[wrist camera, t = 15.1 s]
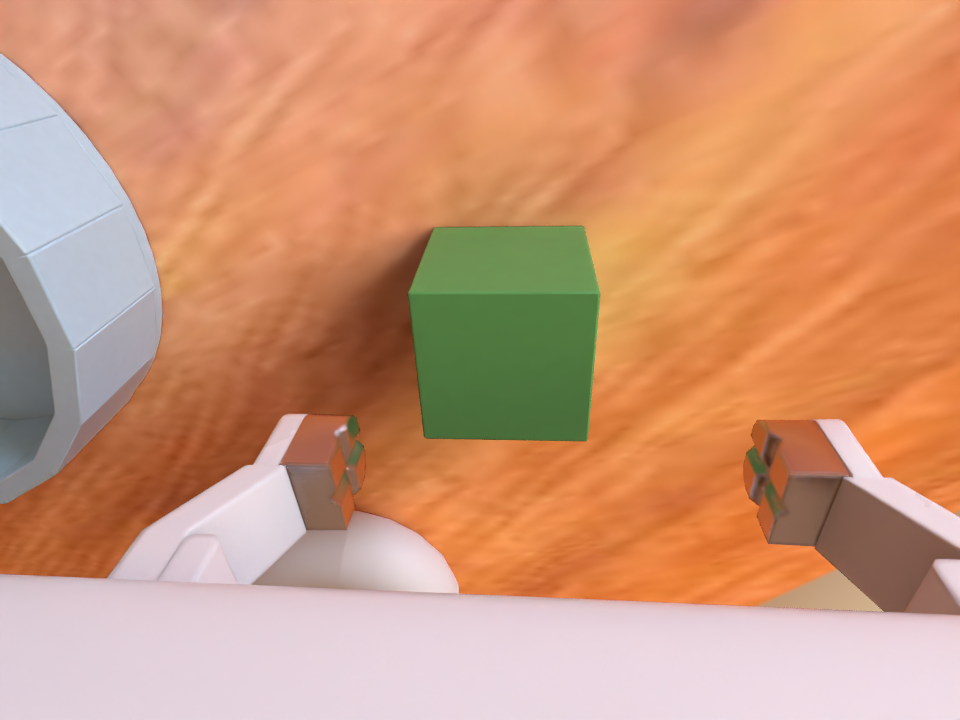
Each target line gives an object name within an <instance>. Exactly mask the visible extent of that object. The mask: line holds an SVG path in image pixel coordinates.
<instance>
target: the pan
mask: <svg viewBox="0 0 960 720" xmlns="http://www.w3.org/2000/svg"><path fill="white" fill-rule="evenodd" d="M162 317H163V312H162V297H161V287H160V282H159V277H158V272H157V268H156V263H155V259H154V257H153V254H152V251H151V248H150V245H149V242H148V239H147V236H146V233H145V231H144V229H143V227H142V225H141V222H140V220H139V218H138V216H137V214H136V212H135V210H134V208H133V206H132V203H131V201H130V200H129V198H128V196H127V195H126V193H125V191H124V190H123V188H122V186H121V185H120V183H119V181H118V180H117V178H116V176H115V175H114V173H113V172H112V170H111V168H110V167H109V166H108V164H107V163H106V161H105V160H104V159H103V157H102V156H101V155H100V153H99V152H98V151H97V149H96V148H95V147H94V145H93V144H92V143H91V141H90V140H89V139H88V137H87V136H86V135H85V134H84V132H83V131H82V130H81V129H80V128H79V127H78V126H77V125H76V123H75V122H74V121H73V120H72V119H71V118H70V117H69V116H68V114H67V113H66V112H65V111H64V110H63V109H62V108H61V107H60V105H59V104H58V103H57V102H56V101H55V100H54V99H53V98H51V97H50V96H49V95H48V94H47V93H46V92H45V91H44V90H43V89H42V88H41V87H40V86H39V85H38V84H37V83H36V82H35V81H33V80H32V79H31V78H30V77H29V76H28V75H27V74H26V73H25V72H24V71H23V70H21V69H20V68H19V67H18V66H16V65H15V64H14V63H13V62H11V61H10V60H9V59H7V58H6V57H5V56H4V55H2V54H1V53H0V504H5V503H8V502H10V501H13V500H14V499H16V498H18V497H19V496H21V495H23V494H25V493H26V492H28V491H30V490H31V489H33V488H35V487H36V486H38V485H40V484H42V483H43V482H45V481H47V480H48V479H50V478H52V477H53V476H55V475H57V474H58V473H59V472H60V471H61V470H62V469H63V468H64V467H65V466H66V465H67V464H68V463H69V462H70V461H71V460H72V459H73V458H74V457H75V456H76V455H77V454H78V453H79V452H80V451H81V450H82V449H83V448H84V447H85V446H86V445H87V444H88V443H89V442H90V441H91V440H92V439H93V437H94V436H95V435H96V434H97V433H98V432H99V431H100V430H101V429H102V428H103V427H104V426H105V425H106V424H107V423H108V422H109V421H110V420H111V419H112V418H113V417H114V416H115V415H116V414H117V413H118V412H119V411H120V410H121V409H122V408H123V407H124V406H125V405H126V404H127V403H128V402H129V401H130V399H131V397H132V395H133V393H134V392H135V390H136V388H137V387H138V386H139V385H140V383H141V382H142V381H143V379H144V378H145V377H146V375H147V373H148V371H149V369H150V367H151V365H152V363H153V361H154V359H155V356H156V352H157V349H158V345H159V342H160V338H161V327H162Z"/></svg>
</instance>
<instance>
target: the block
mask: <svg viewBox="0 0 960 720" xmlns="http://www.w3.org/2000/svg"><path fill="white" fill-rule="evenodd" d="M408 302H409V310H410V319H411V328H412V336H413V345H414V354H415V363H416V371H417V380H418V389H419V398H420V406H421V415H422V424H423V432H424V437H425V438H429V439H484V440H538V441H587V440H588V432H589V420H590V408H591V397H592V385H593V373H594V362H595V350H596V338H597V327H598V315H599V303H600V290H599V286H598V282H597V278H596V274H595V269H594V265H593V261H592V257H591V253H590V249H589V245H588V241H587V236H586V232H585V228H584V226H522V227H435V228H433V231H432V233H431V236H430V238H429V241H428V244H427V246H426V249H425V251H424V254H423V256H422V259H421V261H420V264H419V266H418V269H417V271H416V274H415V276H414V279H413V281H412V284H411V286H410V289H409V291H408Z"/></svg>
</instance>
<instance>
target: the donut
mask: <svg viewBox="0 0 960 720" xmlns="http://www.w3.org/2000/svg"><path fill="white" fill-rule="evenodd" d="M306 531H307V533H306V534H304V535H303V536H302V537H301V538H300V539H299V540H298V541H297V542H296V543H295V544H294V545H293V546H292V547H291V548H290V549H289V550H288V551H287V552H286V553H285V554H284V555H282V556H281V557H280V558H279V559H278V560H277V561H276V562H275V563H274V564H273V565H272V566H271V567H270V568H269V569H268V570H267V571H266V572H265V573H264V574H263V575H262V576H260V577H259V578H258V579H257V580H256V581H255V582H254V583H253V584H252V585H268V586H291V587H314V588H338V589H361V590H385V591H408V592H431V593H455V594H459V587H458V583H457V581H456V579H455V576H454V575H453V573H452V571H451V569H450V568H449V566H448V564H447V562H446V560H445V559H444V557H443V555H442V554H441V553H440V552H439V551H437V550H436V549H435V548H434V547H433V546H432V545H431V544H429V543H428V542H427V541H426V540H425V539H424V538H423V537H422V536H420V535H419V534H418V533H416V532H414V531H412V530H410V529H408V528H406V527H404V526H403V525H401V524H399V523H397V522H395V521H393V520H391V519H388V518H384V517H380V516H377V515H373V514H369V513H365V512H361V511H353V513H352V516H351V519H350V522H349V525H348V527H347V530H306Z"/></svg>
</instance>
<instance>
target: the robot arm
mask: <svg viewBox="0 0 960 720" xmlns="http://www.w3.org/2000/svg"><path fill="white" fill-rule="evenodd" d="M359 432H360V428H359V424H358V420H357V418H356V417H355V416H353V415H331V414H288V413H287V414H285V415H284V416H282V417H281V418H280V420H279V422H278V423H277V425H276V427H275V428H274V430H273V432H272V433H271V435H270V437H269V439H268V440H267V442H266V444H265V445H264V447H263V449H262V450H261V452H260V454H259V455H258V457H257V459H256V460H255V462H254V464H253V465H245V466H244V467H242V468H240V469H239V470H237V471H236V472H234V473H232V474H231V475H229V476H228V477H226V478H224V479H223V480H221V481H220V482H218V483H216V484H215V485H213V486H212V487H210V488H208V489H207V490H205V491H204V492H202V493H200V494H199V495H197V496H196V497H194V498H192V499H191V500H189V501H188V502H186V503H185V504H183V505H181V506H180V507H178V508H177V509H175V510H173V511H172V512H170V513H169V514H167V515H165V516H164V517H162V518H161V519H159V520H157V521H156V522H154V523H153V524H151V525H149V526H148V527H146V528H145V529H143V530H142V531H141V532H140V533H139V535H138V536H137V538H136V539H135V540H134V542H133V543H132V544H131V546H130V547H129V549H128V550H127V551H126V553H125V554H124V555H123V557H122V558H121V560H120V561H119V562H118V564H117V565H116V566H115V568H114V569H113V571H112V572H111V573H110V575H109V576H108V577H107V579H105V578H81V577H58V576H35V575H12V574H0V720H960V517H958V516H956V515H955V514H953V513H951V512H949V511H948V510H946V509H944V508H943V507H941V506H939V505H937V504H936V503H934V502H932V501H931V500H929V499H927V498H925V497H924V496H922V495H920V494H919V493H917V492H915V491H913V490H912V489H910V488H908V487H906V486H905V485H903V484H901V483H900V482H898V481H896V480H894V479H893V478H883V477H882V475H881V474H880V472H879V471H878V469H877V468H876V467H875V465H874V464H873V462H872V461H871V460H870V458H869V457H868V455H867V454H866V452H865V451H864V450H863V448H862V447H861V445H860V444H859V442H858V441H857V440H856V438H855V437H854V435H853V434H852V432H851V431H850V430H849V428H848V427H847V425H846V424H845V423H844V422H843V421H841V420H840V419H811V420H757V421H756V423H755V424H754V426H753V429H752V433H751V437H752V439H753V441H754V444H755V446H753V447H752V448H751V449H750V450H748V451H747V452H746V456H745V460H744V465H743V477H744V483H745V488H746V491H747V493H748V496H749V499H751V500H752V501H753V502H755V503H756V504H757V505H759V506H760V507H759V510H758V513H757V518H758V521H759V523H760V526H761V528H762V530H763V533H764V535H765V538H766V540H767V542H768V544H782V545H800V546H815V549H816V550H817V551H818V552H819V553H820V554H821V555H822V556H824V557H825V558H826V559H827V560H828V561H829V562H830V563H831V564H832V565H833V566H835V567H836V568H837V569H838V570H839V571H840V572H841V573H842V574H843V575H844V576H846V577H847V578H848V579H849V580H850V581H851V582H852V583H853V584H854V585H856V586H857V587H858V588H859V589H860V590H861V591H862V592H863V593H864V594H865V595H866V596H868V597H869V598H870V599H871V600H872V601H873V602H874V603H875V604H877V605H878V607H880V608H881V609H882V610H883V611H884V612H876V611H875V612H874V611H852V610H829V609H804V608H779V607H756V606H734V605H711V604H688V603H666V602H643V601H620V600H597V599H573V598H549V597H526V596H502V595H478V594H455V593H431V592H408V591H385V590H361V589H338V588H314V587H291V586H268V585H252V584H253V583H254V582H255V581H256V580H257V579H258V578H259V577H260V576H262V575H263V574H264V573H265V572H266V571H267V570H268V569H269V568H270V567H271V566H272V565H273V564H274V563H275V562H276V561H277V560H278V559H279V558H280V557H281V556H282V555H284V554H285V553H286V552H287V551H288V550H289V549H290V548H291V547H292V546H293V545H294V544H295V543H296V542H297V541H298V540H299V539H300V538H301V537H302V536H303V535H304V534H306V533H307V531H306V530H347V527H348V525H349V522H350V519H351V516H352V513H353V511H354V508H355V502H354V498H353V495H354V494H356V493H357V492H358V491H359V490H361V488H362V485H363V482H364V478H365V470H366V455H365V450H364V446H363V445H362V444H361V443H360V442H359V441H358V440H356V439H357V437H358V434H359Z"/></svg>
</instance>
